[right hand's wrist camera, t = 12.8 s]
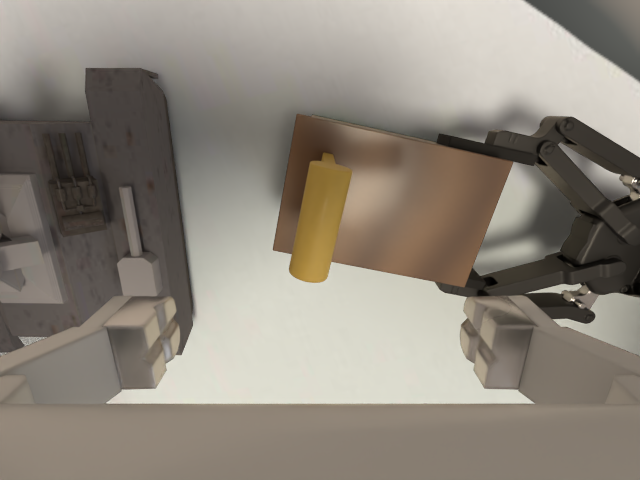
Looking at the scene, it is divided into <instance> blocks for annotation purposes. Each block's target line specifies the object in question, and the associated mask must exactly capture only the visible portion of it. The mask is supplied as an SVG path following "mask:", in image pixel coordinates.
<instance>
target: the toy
mask: <svg viewBox="0 0 640 480" xmlns="http://www.w3.org/2000/svg"><path fill="white" fill-rule="evenodd" d="M151 78H158V74H156V73H153V72H150V71H146V70H143V69H141V68H86V81H85V93H86V98H87V103H88V108H89V114H90V119H91V122H66V121H0V352H12V351H15V350H17V349H20V348H22V347H24V344H23V343H22V342H21V340H20V339H19V338H18V337H50V336H52V335H55V334H57V333H60V332H62V331H65V330H67V329H70V328H72V327H80V326H81V325H82V324H83V323H84V322H86V321H87V320H88V319H89V318H90V317H91V316H92V315H93V314H95V313H96V312H97V311H98V310H99V309H100V308H101V307H102V306H104V305H105V304H106V303H107V302H108V301H109V300H110V299H111V298H113V297H114V296H132V295H134V296H170V297H172V298H173V299H174V300H175V305H176V310H177V311H176V313H175V314H174V316H173V317H172V318H173V319H174V320H175V321H176V322H177V323H178V324H179V329H180V343H179V347H178V351H177V353H176V355H182V352H183V350H184V347H185V345H186V342H187V339H188V337H189V334H190V332H191V329H192V326H193V321H192V310H193V303H192V295H191V288H190V280H189V272H188V264H187V257H186V249H185V241H184V233H183V225H182V218H181V210H180V202H179V194H178V186H177V179H176V171H175V163H174V155H173V148H172V140H171V132H170V124H169V116H168V109H167V101H166V98H165V95H164V94H163V91H162V90H161V89H160V87H159V86H158V85H157V84H156V83H155V82H154V81H153V80H152V79H151Z"/></svg>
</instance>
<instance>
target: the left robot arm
mask: <svg viewBox="0 0 640 480" xmlns="http://www.w3.org/2000/svg"><path fill="white" fill-rule="evenodd" d="M560 142H561V143H563V144H564V145H566V146H568V147H569V148H571V149H573V150H574V151H576V152H578V153H579V154H581V155H583V156H584V157H586V158H588V159H590V160H591V161H593V162H595V163H596V164H598V165H600V166H601V167H603V168H605V169H606V170H608V171H610V172H613V173H616V174H621V176H620V177H619V179H620V181H622V183H623V185H624V186H626V187H628V188H629V189H630V195H627V196H624V197H621V198H619V199H616V200H614V201H610V200H608V199H607V198H605V197H604V196H603V194H602V193H601V192H600V191H599V190H598V189H597V188H596V187H595V186H594V185H593V183H592V182H591V181H590V180H589V179H588V178H587V177H586V176H585V175H584V174H583V172H582V171H581V170H580V169H579V168H578V167H577V166H576V165H575V164H574V163H573V162H572V160H571V159H570V158H569V157H568V156H567V155H566V154H565V153H564V152H563V151H562V149H561V148H560V147H559V146H558V144H559V143H560ZM437 144H441V145H444V146H448V147H452V148H457V149H461V150H466V151H471V152H475V153H480V154H484V155H489V156H493V157H498V158H502V159H505V160H509V161H514V162H518V163H523V164H527V165H532V166H534V164H535V165H536V166H537V167H538V168H539V169H540V170H541V171H542V172H543V173H544V174H545V175H546V176H547V177H548V178H549V179H550V180H551V181H552V182H553V183H554V185H555V186H556V187H557V188H558V189H559V190H560V191H561V192H562V193H563V194H564V195H565V196H566V197H567V198H568V199H569V200H570V201H571V203H570V204H571V205H572V206H573V207H574V208H575V209H576V210H577V211H578V213H579V214H580V215H581V216H580V217H576V218H575V221H574V223H573V225H572V229H571V234H570V236H569V237H568V238H567V239H566V241H565V242H564V244H563V246H562V248H561V250H560V251H561V252H558V253H554V254H550V255H547V256H545V259H543V260H539V261H535V262H532V263H528V264H524V265H520V266H516V267H513V268H509V269H505V270H501V271H497V272H493V273H490V274H486V275H482V276H479V274H478V273H477V272H476V271H475V270H474V269H473V268H472V269H471V272H470V274H469V277H468V279H467V282H466V285H465V287H460V286H455V285H450V284H444V283H439V282H435V283H436V285H437V286H438V288H439V289H440V290H441V291H443V292H444V293H449V294H454V295H455V294H456V295H460V296H465V297H477V296H519V295H522V296H526V297H528V298H529V299H530V300H531V301H532V302H533V303H534V304H535V305H537V306H538V307H539V308H540V309H541V310H542V311H543V312H544V313H546V314H547V315H548V316H549V317H550V318H551V319H565V318H567V319H571V320H574V321H578V322H581V323H586V324H587V323H590V322H592V321H593V320H594V319H595V314H594V312H592V311H591V310H590V308H591V306H592V305H593V303H594V302H595V300H596V299H597V297H598V296H599V295H605V294H609V293H621V294H625V295H630V296H635V297H640V158H639V157H638V156H636V155H634V154H633V153H631V152H630V151H628V150H626V149H625V148H623V147H621V146H620V145H618V144H616V143H615V142H613V141H612V140H610V139H608V138H607V137H605V136H603V135H602V134H600V133H598V132H597V131H595V130H594V129H592V128H590V127H589V126H587V125H585V124H584V123H582V122H580V121H579V120H577V119H576V118H574V117H563V116H547V117H545V118H544V119H543V120H542V121H541V123H540V128H539V130H538V131H537V132H536V133H535V134H533V135H531V136H527V135H522V134H518V133H513V132H509V131H504V130H491V131H489V132H488V135H487V138H486V140H485V143H480V142H476V141H471V140H467V139H462V138H458V137H453V136H449V135H444V134H439V136H438V139H437ZM579 283H580V284H581V285H582V287H581V288H580V289H579V290H577V291H567V290H564V291H562V293H561V294H558V293H528V292H532V291H536V290H540V289H544V288H548V287H552V286H556V285H559V284H568V285H575V284H579ZM524 293H528V294H524Z"/></svg>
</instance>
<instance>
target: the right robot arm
mask: <svg viewBox="0 0 640 480" xmlns="http://www.w3.org/2000/svg"><path fill="white" fill-rule="evenodd" d="M176 311H177V310H176V305H175V300H174V299H173V298H172V297H170V296H134V295H132V296H114V297H113V298H111V299H110V300H109V301H108V302H107V303H106V304H105V305H104V306H102V307H101V308H100V309H99V310H98V311H97V312H96V313H95V314H93V315H92V316H91V317H90V318H89V319H88V320H87V321H86V322H84V323H83V324H82V325H81V326H80V327H72V328H70V329H67V330H65V331H62V332H60V333H57V334H55V335H52V336H50V337H47V338H45V339H42V340H40V341H37V342H35V343H32V344H30V345H27V346H25V347H22V348H20V349H17V350H15V351H12V352H10V353H7V354H5V355H2V356H0V480H640V356H638V355H635V354H633V353H630V352H628V351H625V350H623V349H620V348H618V347H615V346H613V345H610V344H608V343H605V342H603V341H600V340H598V339H595V338H593V337H590V336H588V335H585V334H583V333H580V332H578V331H575V330H573V329H570V328H568V327H560V326H559V325H558V324H557V323H556V322H555V321H553V320H552V319H551V318H550V317H549V316H548V315H547V314H546V313H544V312H543V311H542V310H541V309H540V308H539V307H538V306H537V305H535V304H534V303H533V302H532V301H531V300H530V299H529V298H528V297H526V296H522V295H519V296H477V297H467V299H466V301H465V304H464V310H463V311H464V313H465V314H466V316H467V317H468V318H467V319H466V320H465V321H464V322H463V323H462V324H461V330H460V342H461V347H462V350H463V353H464V355H465V357H466V358H467V359H468V360H470V361H471V362H473V363H474V372H475V374H476V375H477V377H478V379H479V380H480V382H481V384H482V385H483V387H484V389H519V390H518V391H519V392H521V393H522V394H523V395H525V396H526V397H527V398H529V399H530V400H531V401H533V402H534V403H535V404H105V403H106V402H107V401H109V400H110V399H112V398H113V397H114V396H116V395H117V394H118V393H120V392H121V389H155V388H156V387H157V385H158V384H159V382H160V380H161V379H162V377H163V375H164V374H165V372H166V363H167V362H169V361H170V360H172V359H173V358H174V357H175V355H176V353H177V351H178V347H179V343H180V329H179V324H178V323H177V322H176V321H175V320H174V319H173V318H172V317H173V316H174V314H175V313H176Z"/></svg>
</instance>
